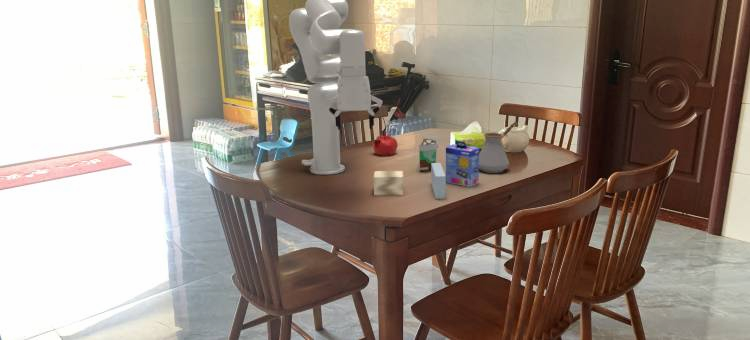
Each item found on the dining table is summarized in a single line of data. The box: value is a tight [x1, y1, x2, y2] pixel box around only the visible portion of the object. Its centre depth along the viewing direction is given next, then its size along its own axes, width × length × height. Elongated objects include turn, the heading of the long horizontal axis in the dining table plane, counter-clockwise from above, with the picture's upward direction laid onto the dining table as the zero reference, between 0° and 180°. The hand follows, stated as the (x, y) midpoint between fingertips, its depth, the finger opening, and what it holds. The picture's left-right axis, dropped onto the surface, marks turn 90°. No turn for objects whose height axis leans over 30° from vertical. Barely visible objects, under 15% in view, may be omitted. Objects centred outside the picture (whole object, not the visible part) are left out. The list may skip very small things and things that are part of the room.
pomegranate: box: [372, 131, 399, 157], centre depth 231 cm, size 10×10×9 cm
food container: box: [418, 137, 439, 173], centre depth 207 cm, size 12×6×10 cm, turn 168°
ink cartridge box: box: [445, 140, 480, 188], centre depth 188 cm, size 10×6×14 cm, turn 51°
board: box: [430, 162, 447, 200], centre depth 182 cm, size 3×16×7 cm, turn 179°
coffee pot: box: [479, 122, 519, 174], centre depth 206 cm, size 21×12×15 cm, turn 138°
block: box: [373, 170, 404, 196], centre depth 182 cm, size 9×7×6 cm
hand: (355, 128), depth 178 cm, fingers open, 9 cm apart
